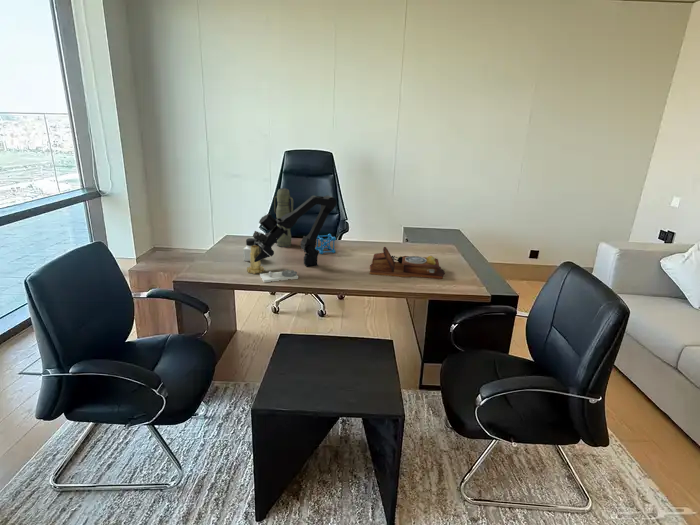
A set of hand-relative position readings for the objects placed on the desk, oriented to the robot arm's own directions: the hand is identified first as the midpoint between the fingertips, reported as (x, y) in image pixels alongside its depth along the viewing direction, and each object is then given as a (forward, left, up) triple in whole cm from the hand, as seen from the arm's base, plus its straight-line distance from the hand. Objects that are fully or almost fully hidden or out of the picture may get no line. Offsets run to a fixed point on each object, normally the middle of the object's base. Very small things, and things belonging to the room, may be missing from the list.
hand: (252, 258), depth 210 cm
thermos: (-27, -42, -7) cm, 51 cm away
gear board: (-10, +12, -7) cm, 18 cm away
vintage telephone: (-78, +21, -7) cm, 81 cm away
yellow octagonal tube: (-1, 0, -7) cm, 7 cm away
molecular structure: (-47, -22, -7) cm, 53 cm away
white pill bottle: (-3, -19, -7) cm, 21 cm away
